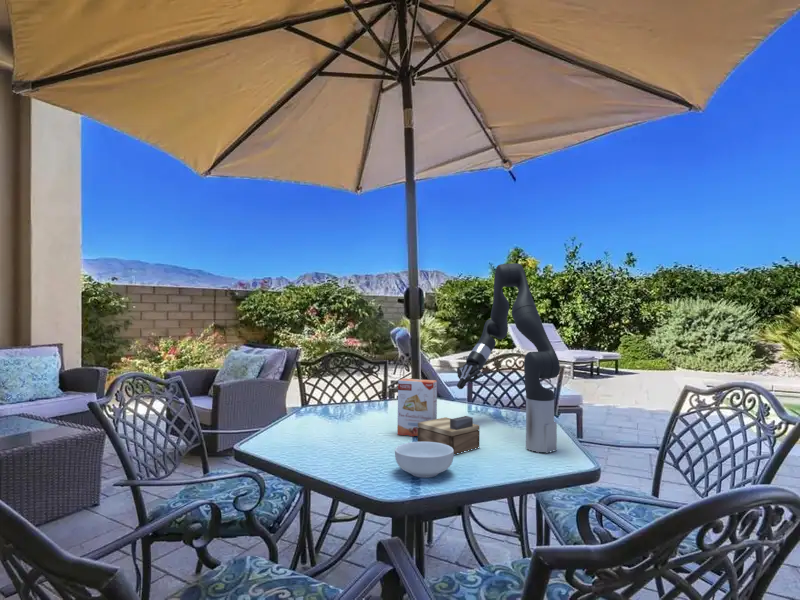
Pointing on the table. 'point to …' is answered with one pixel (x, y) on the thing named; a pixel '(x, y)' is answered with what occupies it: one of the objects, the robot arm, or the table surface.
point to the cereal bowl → (424, 458)
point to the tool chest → (451, 439)
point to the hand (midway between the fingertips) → (459, 387)
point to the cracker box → (415, 404)
